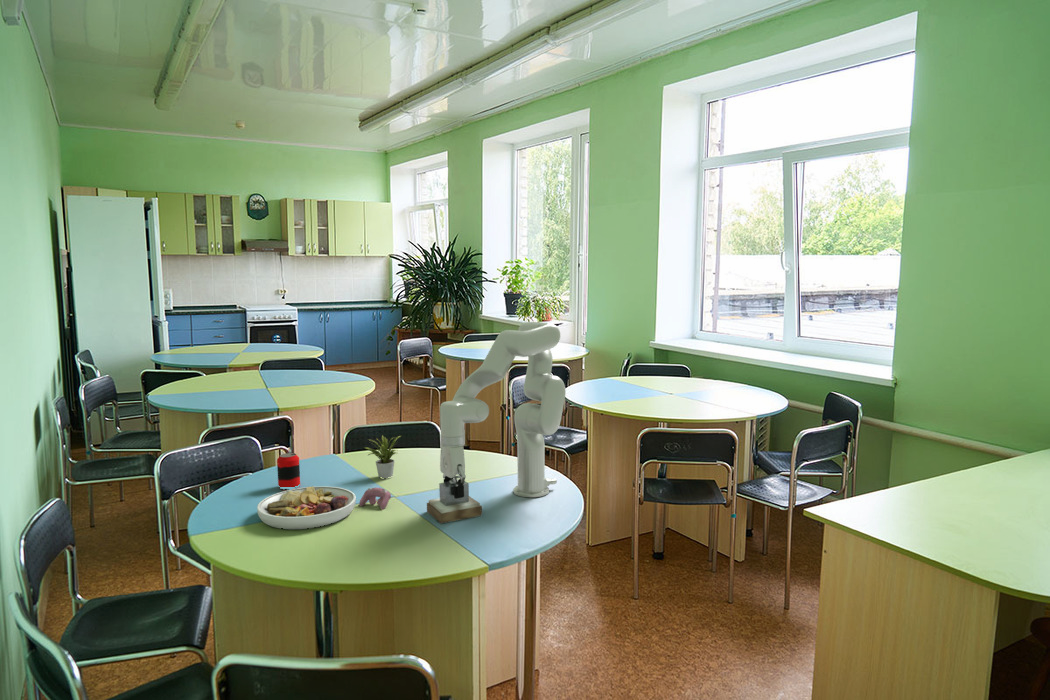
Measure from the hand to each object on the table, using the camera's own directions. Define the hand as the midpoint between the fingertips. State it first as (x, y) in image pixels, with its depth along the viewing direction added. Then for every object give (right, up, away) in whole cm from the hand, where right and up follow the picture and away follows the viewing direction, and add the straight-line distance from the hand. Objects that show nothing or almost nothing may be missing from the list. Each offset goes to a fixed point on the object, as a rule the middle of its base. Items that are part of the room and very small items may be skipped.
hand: (453, 493), depth 213 cm
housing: (0, -3, 0) cm, 3 cm away
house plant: (-30, -3, +42) cm, 52 cm away
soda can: (-63, -4, +29) cm, 70 cm away
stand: (0, -7, +1) cm, 7 cm away
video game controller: (-27, -6, +9) cm, 29 cm away
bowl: (-47, -8, +1) cm, 48 cm away
